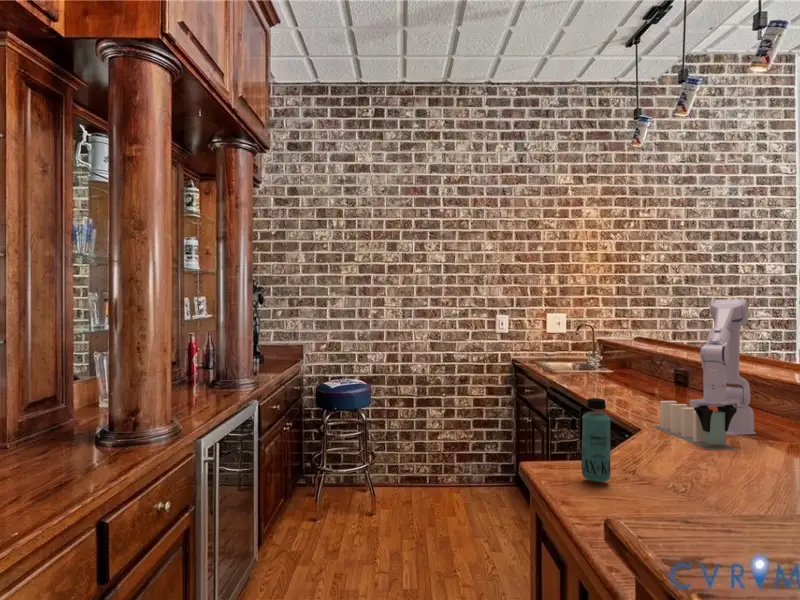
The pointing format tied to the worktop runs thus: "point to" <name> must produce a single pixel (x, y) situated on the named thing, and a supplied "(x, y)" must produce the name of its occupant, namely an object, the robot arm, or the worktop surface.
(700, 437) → the ivory domino
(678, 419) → the ivory domino
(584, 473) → the beverage bottle
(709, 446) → the mat
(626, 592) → the worktop surface
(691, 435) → the ivory domino
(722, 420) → the teal domino
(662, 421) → the ivory domino
